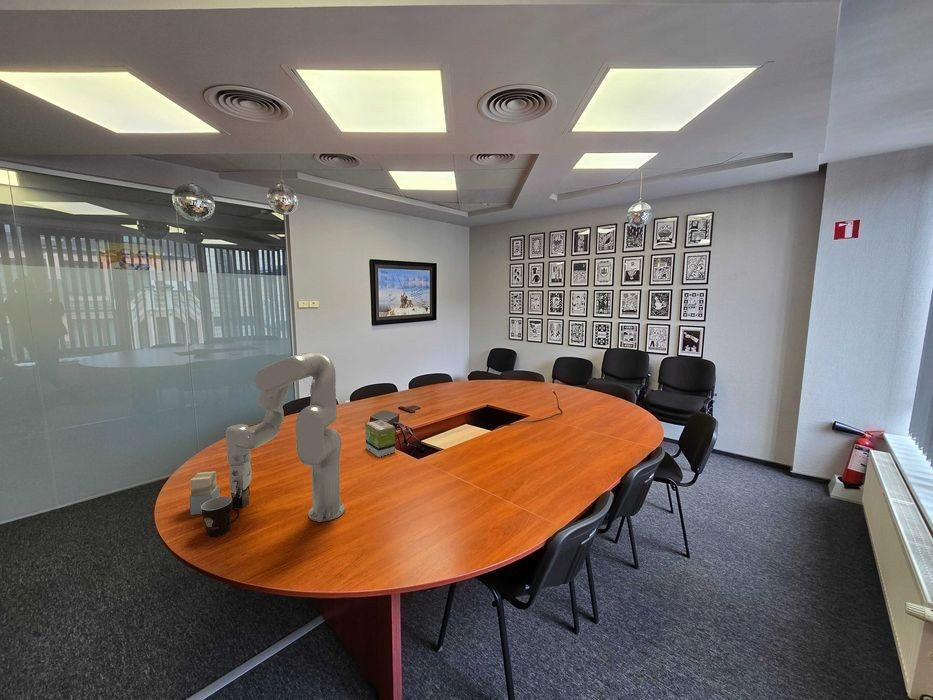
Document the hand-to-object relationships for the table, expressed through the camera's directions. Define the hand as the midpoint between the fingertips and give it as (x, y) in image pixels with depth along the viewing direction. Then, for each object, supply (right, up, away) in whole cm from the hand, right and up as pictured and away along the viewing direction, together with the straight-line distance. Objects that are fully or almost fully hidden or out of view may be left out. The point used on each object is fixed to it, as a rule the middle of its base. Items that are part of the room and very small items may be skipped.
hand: (241, 501), depth 141 cm
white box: (-12, -1, -3) cm, 12 cm away
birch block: (-12, +5, -4) cm, 13 cm away
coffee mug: (+4, -4, -17) cm, 18 cm away
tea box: (+40, +4, +55) cm, 68 cm away
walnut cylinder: (0, -1, 0) cm, 1 cm away
